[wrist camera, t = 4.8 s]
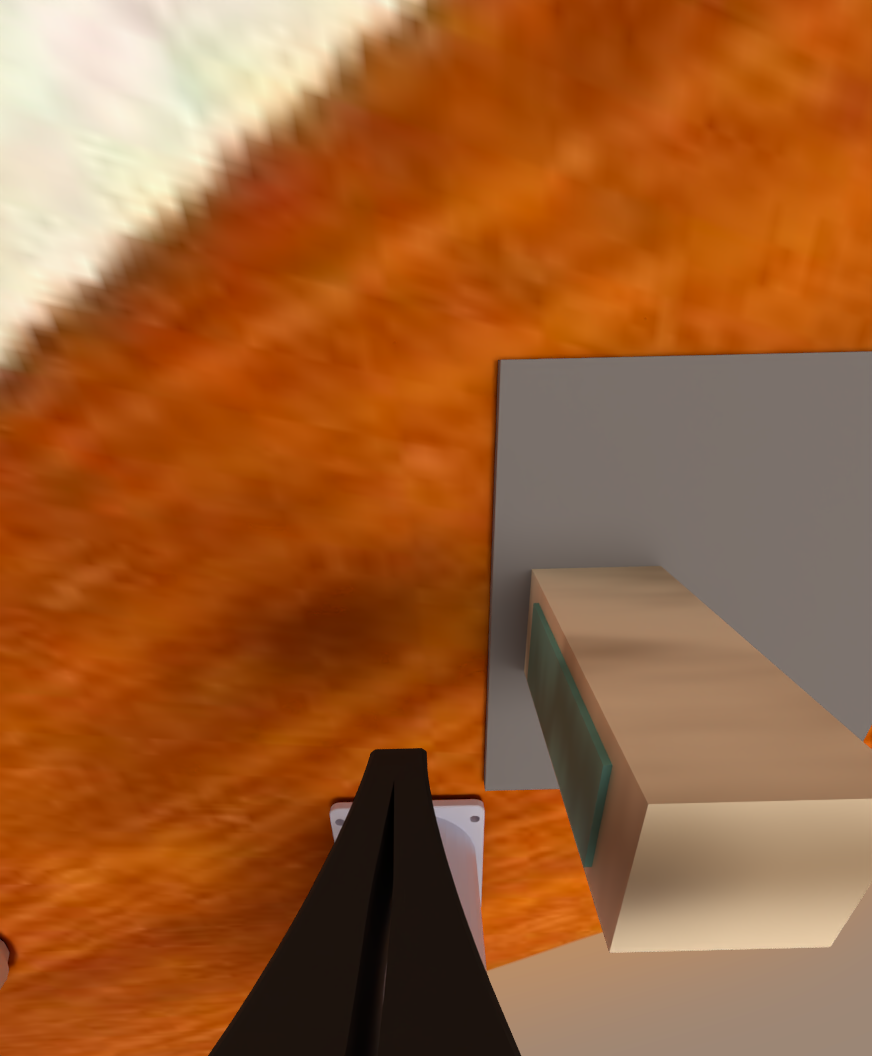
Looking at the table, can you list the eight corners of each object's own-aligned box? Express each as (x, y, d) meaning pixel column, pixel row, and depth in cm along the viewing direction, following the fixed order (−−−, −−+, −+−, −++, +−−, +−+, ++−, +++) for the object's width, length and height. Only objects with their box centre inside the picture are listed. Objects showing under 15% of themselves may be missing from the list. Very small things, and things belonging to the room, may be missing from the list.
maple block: (639, 668, 17) (830, 946, 9) (519, 671, 17) (600, 952, 9) (660, 565, 16) (926, 796, 7) (526, 569, 16) (637, 804, 7)
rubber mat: (833, 772, 21) (842, 781, 20) (484, 781, 21) (485, 790, 20) (1044, 348, 13) (1066, 347, 13) (498, 360, 13) (500, 359, 13)
